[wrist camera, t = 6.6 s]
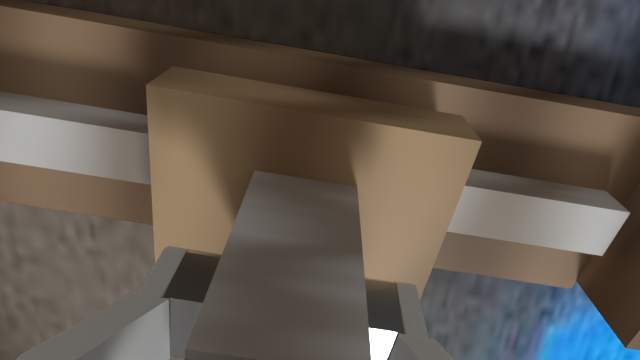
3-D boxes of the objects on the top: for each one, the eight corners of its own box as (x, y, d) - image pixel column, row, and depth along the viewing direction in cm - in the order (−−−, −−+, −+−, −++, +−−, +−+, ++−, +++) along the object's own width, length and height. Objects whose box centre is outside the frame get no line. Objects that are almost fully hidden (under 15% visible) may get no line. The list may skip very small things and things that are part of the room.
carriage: (451, 101, 14) (616, 315, 6) (399, 257, 17) (454, 533, 9) (188, 55, 13) (-49, 214, 5) (188, 225, 17) (45, 482, 9)
